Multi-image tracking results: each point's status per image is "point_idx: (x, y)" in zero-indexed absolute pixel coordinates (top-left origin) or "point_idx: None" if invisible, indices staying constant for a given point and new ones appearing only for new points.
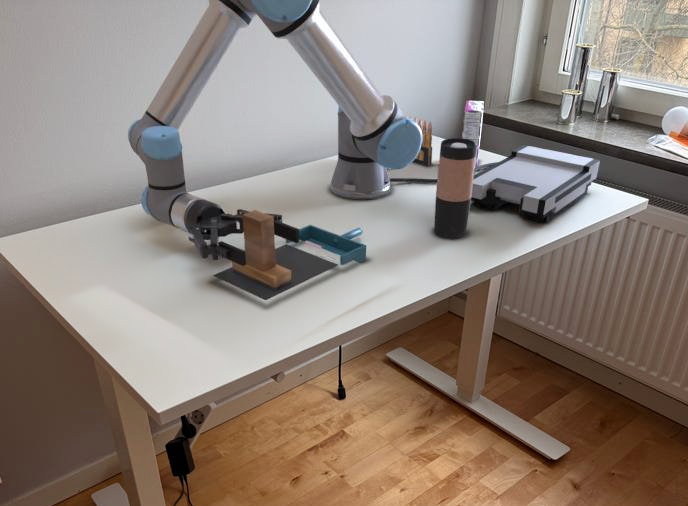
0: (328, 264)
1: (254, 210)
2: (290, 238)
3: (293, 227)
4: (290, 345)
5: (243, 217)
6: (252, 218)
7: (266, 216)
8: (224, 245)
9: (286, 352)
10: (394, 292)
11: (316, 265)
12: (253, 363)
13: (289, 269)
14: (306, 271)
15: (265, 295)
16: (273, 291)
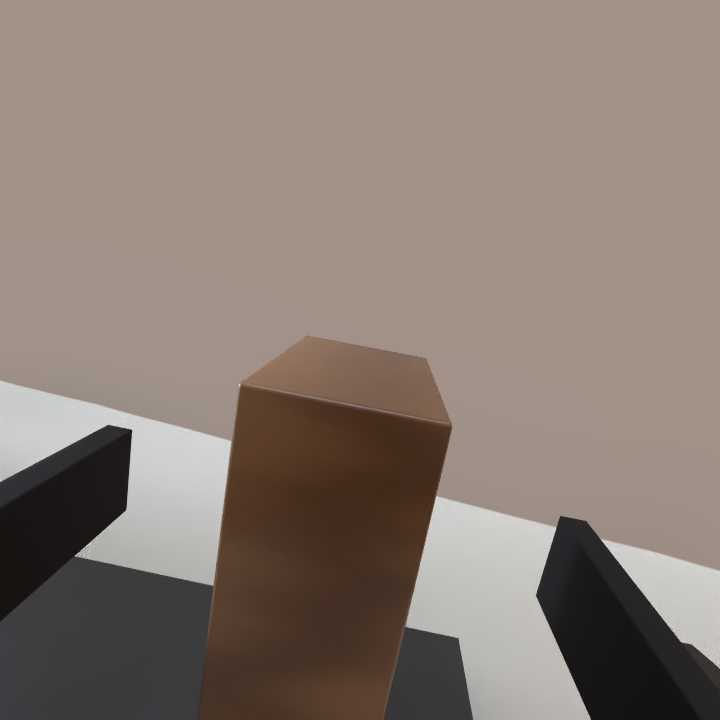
0: None
1: (269, 381)
2: (91, 524)
3: (86, 441)
4: (513, 528)
5: (442, 451)
6: (434, 380)
7: (334, 347)
8: (700, 676)
9: (536, 525)
10: (159, 449)
11: (23, 610)
12: (628, 556)
13: (101, 712)
14: (113, 622)
15: (433, 659)
16: None
